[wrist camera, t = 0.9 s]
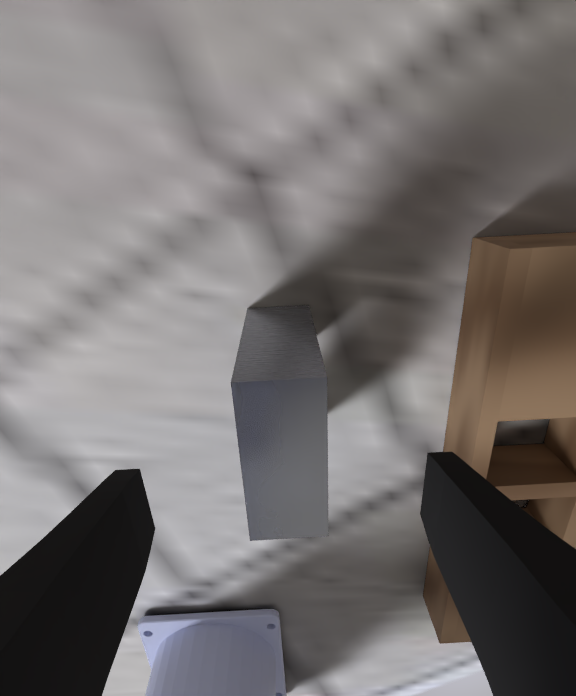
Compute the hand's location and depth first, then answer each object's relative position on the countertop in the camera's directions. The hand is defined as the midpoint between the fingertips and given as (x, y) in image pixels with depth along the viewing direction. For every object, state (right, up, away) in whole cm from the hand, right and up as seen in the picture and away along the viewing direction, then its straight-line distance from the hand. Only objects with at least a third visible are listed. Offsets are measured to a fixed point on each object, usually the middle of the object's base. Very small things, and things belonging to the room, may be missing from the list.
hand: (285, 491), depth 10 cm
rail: (+10, -1, +8) cm, 13 cm away
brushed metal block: (0, +3, +6) cm, 7 cm away
